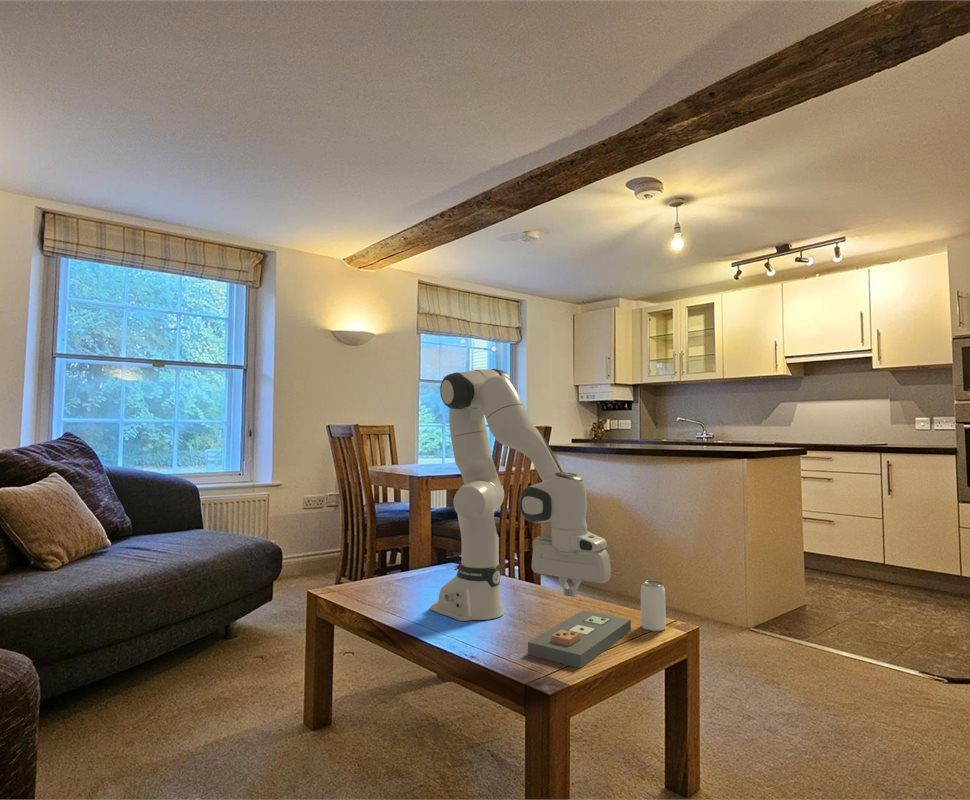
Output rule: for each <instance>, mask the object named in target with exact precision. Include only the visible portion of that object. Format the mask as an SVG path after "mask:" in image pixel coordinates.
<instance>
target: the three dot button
mask: <svg viewBox="0 0 970 800" xmlns="http://www.w3.org/2000/svg"><path fill="white" fill-rule="evenodd" d="M578 641H579V633H575V632H570V631H566V630H559V631H558V632H556V633H554V634H553V635H551V642H553V643H557V644H561V645H565V646H569V647H571V646H572V645H574V644H575V643H577V642H578Z"/></svg>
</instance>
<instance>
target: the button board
mask: <svg viewBox="0 0 970 800" xmlns="http://www.w3.org/2000/svg"><path fill="white" fill-rule="evenodd" d="M591 616H596V617H601V618H606V619H610V621H609V622H607V623H606V624H604V625H603V626H602V625H597V624H592V623H588V622H584V621H585V620H586V619H588V618H590V617H591ZM631 624H632V621H631V619H629V618H626V617H625V618H624V617H619V616H615V615H608V614H605V613H604V614H603V613H599V612H595V611H588V610H586V609H585V610H581V611H580V612H578V613H576V614H574V615H573V616H571V617H569V618H567V619H566V620H564V621H562V622H560V623H559V624H557V625H555V626H553V627H551V628H549V629H548V630H546V631H545V632H543V633H541V634H539V635H537V636H536V637H534V638H533V639H531V640H529V641H527V655H528V656H532V657H535V658H539V659H544V660H547V661H550V662H554V663H559V664H562V665H565V666H570V667H573V668H577V669H582V668H583V667H585V666H586V665H587V664H589V663H590V662H591V661H593V660H595V658H597V657H598V656H599V655H601V654H602V653H603V652H605V651H606V650H607V649H608V648H611V647H612V646H613V645H614V644H616V643H617V642H619V639H620V640H621V639H622V638H624V637H625V636H627V633H628V632H629V633H630V632H631V631H632V625H631ZM577 625H581V626H585V627H590V628H595V631H594V632H592V633H591V634H589V635H588V636H586V635H582V634H579V641H578V642H577V643H575V644H574V645H572V646H571V647H569V646H565V645H561V644H557V643H553V642H551V635H553V634H554V633H556V632H558V631H559V630H566V631H569V630H570V629H572V628H573V627H575V626H577ZM629 633H628V634H629ZM624 635H625V636H624ZM623 636H624V637H623ZM615 642H616V643H615Z"/></svg>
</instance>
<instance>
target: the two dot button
mask: <svg viewBox="0 0 970 800" xmlns="http://www.w3.org/2000/svg"><path fill="white" fill-rule="evenodd" d="M609 621H610V619H606V618H601V617H596V616H591V617H590V618H588V619H586V620H585V621H584V622H588V623H592V624H597V625H602V626H603V625H604V624H606V623H607V622H609Z"/></svg>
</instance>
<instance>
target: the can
mask: <svg viewBox="0 0 970 800" xmlns="http://www.w3.org/2000/svg"><path fill="white" fill-rule="evenodd" d="M666 623H667V621H666V589H665V587H664V583H663V582H660V581H657V580H644V581H642V582H641V587H640V626H641V628H642V629H644V630H645V631H648V630H649V632H662V631H665V629H666Z"/></svg>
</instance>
